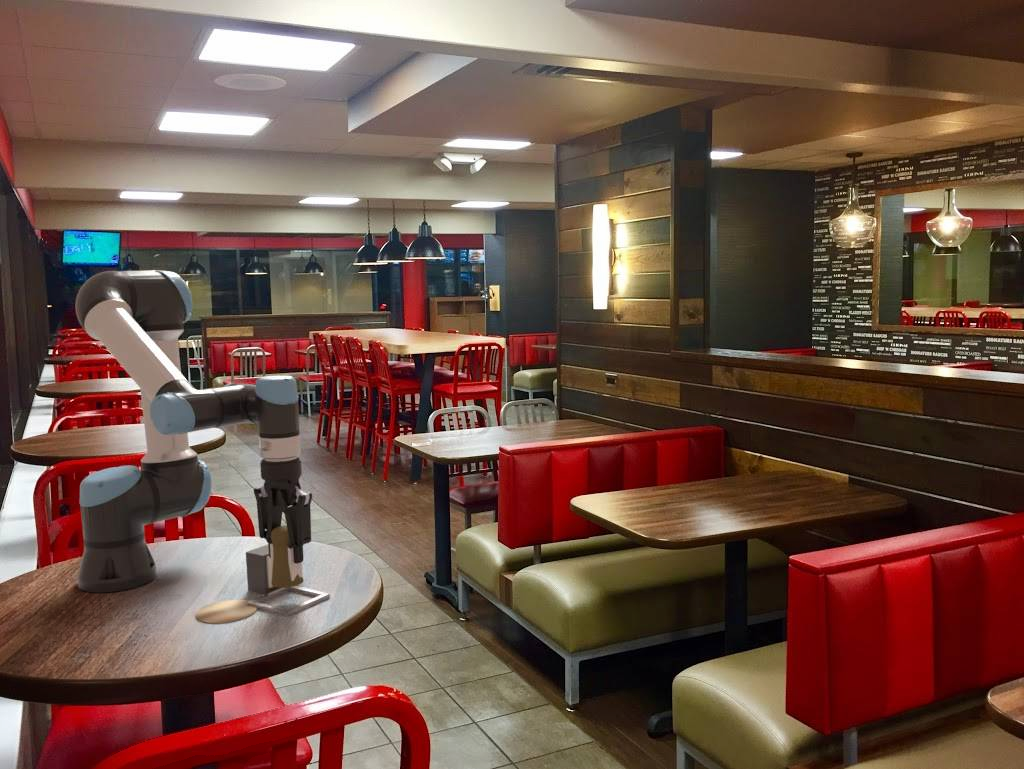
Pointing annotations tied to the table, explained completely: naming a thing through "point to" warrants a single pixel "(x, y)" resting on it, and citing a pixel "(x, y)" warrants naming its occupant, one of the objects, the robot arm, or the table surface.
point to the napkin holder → (259, 571)
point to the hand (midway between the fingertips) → (287, 576)
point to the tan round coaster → (225, 611)
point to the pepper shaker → (282, 559)
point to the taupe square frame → (318, 598)
